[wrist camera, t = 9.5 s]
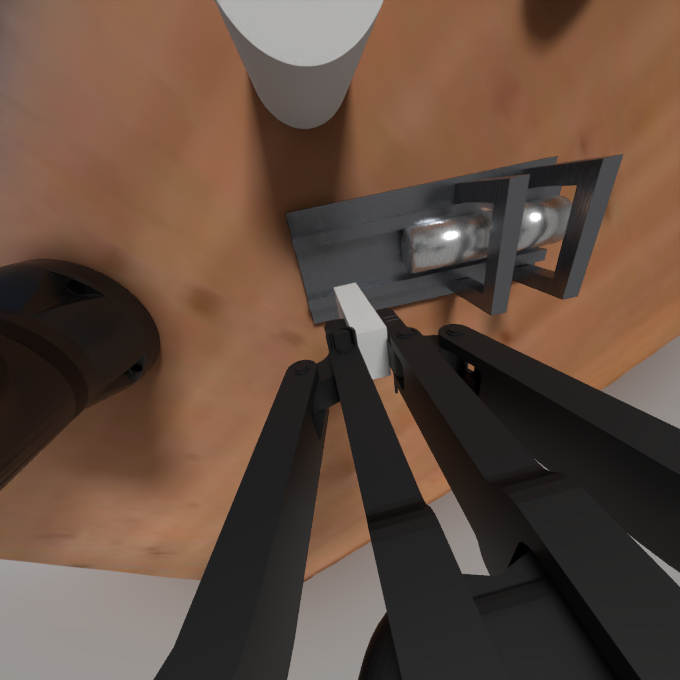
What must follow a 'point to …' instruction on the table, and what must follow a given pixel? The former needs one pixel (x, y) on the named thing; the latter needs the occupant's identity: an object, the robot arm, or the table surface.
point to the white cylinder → (300, 52)
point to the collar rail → (443, 203)
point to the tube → (480, 235)
